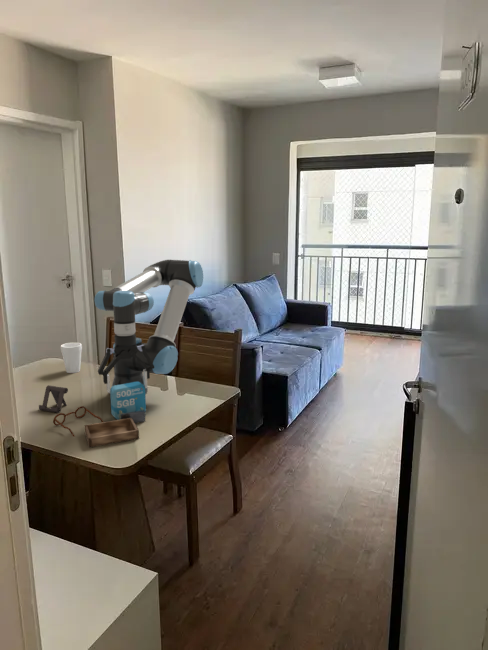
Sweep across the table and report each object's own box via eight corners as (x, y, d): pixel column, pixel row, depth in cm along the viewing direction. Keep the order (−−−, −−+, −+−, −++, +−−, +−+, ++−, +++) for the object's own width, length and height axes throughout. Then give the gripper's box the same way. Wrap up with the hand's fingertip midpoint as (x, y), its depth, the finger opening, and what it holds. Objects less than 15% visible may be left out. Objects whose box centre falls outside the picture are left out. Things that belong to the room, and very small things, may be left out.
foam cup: (58, 373, 230) (56, 347, 227) (68, 367, 238) (67, 342, 236) (77, 374, 228) (75, 348, 225) (86, 368, 237) (85, 343, 234)
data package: (115, 420, 177) (113, 389, 174) (111, 416, 181) (109, 386, 178) (146, 413, 183) (145, 384, 181) (141, 410, 187) (140, 380, 185)
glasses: (85, 416, 182) (84, 404, 181) (106, 426, 174) (105, 413, 173) (53, 427, 172) (52, 414, 171) (73, 438, 164) (72, 424, 163)
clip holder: (135, 405, 191) (135, 396, 190) (145, 421, 177) (145, 411, 176) (113, 409, 188) (113, 399, 187) (121, 425, 173) (121, 414, 172)
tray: (131, 425, 173) (131, 417, 172) (139, 438, 163) (138, 430, 162) (85, 433, 167) (84, 425, 166) (89, 447, 156) (88, 439, 156)
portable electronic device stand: (38, 410, 186) (36, 390, 184) (52, 403, 193) (51, 383, 191) (57, 413, 183) (55, 392, 181) (71, 406, 190) (69, 386, 188)
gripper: (90, 338, 167) (93, 397, 171) (161, 333, 177) (162, 388, 181) (88, 334, 173) (91, 390, 178) (156, 329, 184) (157, 382, 188)
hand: (127, 389), depth 180 cm, fingers open, 13 cm apart
